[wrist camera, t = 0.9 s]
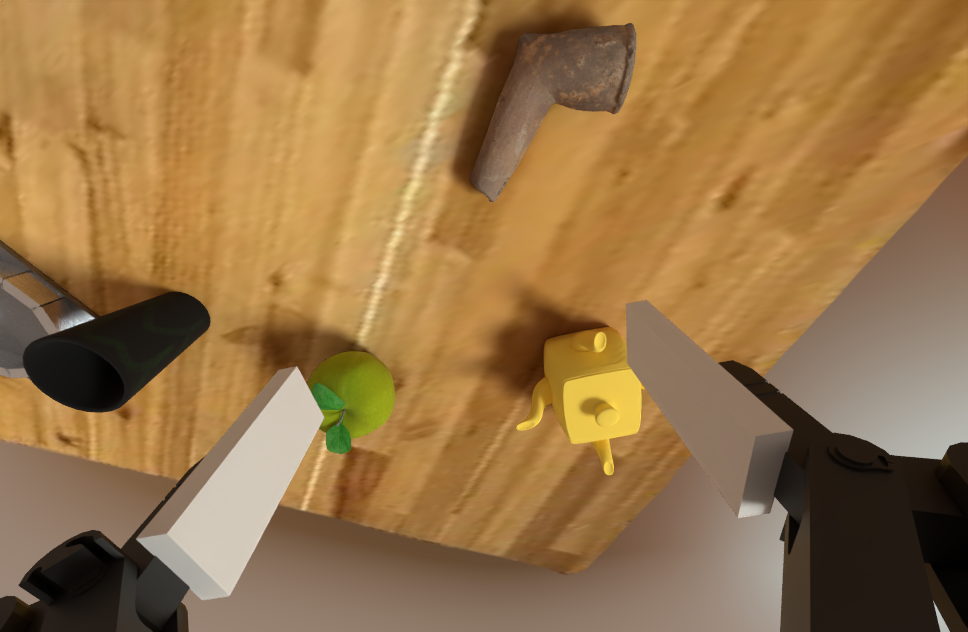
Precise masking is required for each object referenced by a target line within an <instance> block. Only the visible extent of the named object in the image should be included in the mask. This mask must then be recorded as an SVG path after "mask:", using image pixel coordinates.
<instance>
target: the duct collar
mask: <svg viewBox="0 0 968 632" xmlns="http://www.w3.org/2000/svg"><path fill="white" fill-rule="evenodd" d="M98 317H99V316H98V315H96V314H95V313H94V312H92V311H91V310H90V309H89V308H87V307H86V306H85V305H83V304H82V303H81V302H79V301H78V300H77V299H76V298H74V297H73V296H72V295H70V294H69V293H68V292H67V291H65V290H64V289H63V288H61V287H60V286H59V285H57V284H56V283H55V282H54V281H52V280H51V279H50V278H48V277H47V276H46V275H44V274H43V273H42V272H41V271H39V270H38V269H37V268H35V267H34V266H33V265H32V264H30V263H29V262H28V261H26V260H25V259H24V258H22V257H21V256H20V255H19V254H17V253H16V252H15V251H13V250H12V249H11V248H10V247H8V246H7V245H6V244H4V243H3V242H2V241H0V375H2V376H5V377H9V378H23V377H27V378H28V379H30V378H29V377H28V375H27V373H26V371H25V369H24V366H23V354H24V351H25V348H26V347H27V346H28V345H29V344H30V343H31V342H33V341H35V340H37V339H39V338H42V337H45V336H48V335H50V334H53V333H56V332H59V331H62V330H64V329H67V328H70V327H73V326H76V325H79V324H81V323H84V322H87V321H90V320H93V319H95V318H98ZM30 380H31V379H30Z"/></svg>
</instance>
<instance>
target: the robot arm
mask: <svg viewBox="0 0 968 632" xmlns="http://www.w3.org/2000/svg"><path fill="white" fill-rule="evenodd" d="M626 326H627V364H628V365H629V367H630V368H631V369H632V371H633V372H634V374H635V375H636V376H637V378H638V379H639V381H640V382H641V383H642V385H643V386H644V388H645V389H646V390H647V392H648V393H649V395H650V396H651V397H652V399H653V400H654V402H655V403H656V404H657V406H658V407H659V409H660V410H661V411H662V413H663V414H664V416H665V417H666V418H667V420H668V421H669V423H670V424H671V425H672V427H673V428H674V430H675V431H676V432H677V434H678V435H679V437H680V438H681V439H682V441H683V442H684V444H685V445H686V446H687V448H688V449H689V451H690V452H691V453H692V455H693V456H694V457H695V459H696V460H697V462H698V463H699V464H700V466H701V467H702V469H703V470H704V471H705V473H706V474H707V476H708V477H709V478H710V480H711V481H712V483H713V484H714V485H715V487H716V488H717V490H718V491H719V492H720V494H721V495H722V497H723V498H724V499H725V501H726V502H727V503H728V505H729V506H730V508H731V509H732V510H733V512H734V513H735V515H736V516H737V518H741V517H748V516H753V515H761V514H767V513H770V511H771V508H772V505H773V501H774V497H775V498H776V499H777V500H778V501H779V502H780V503H781V504H782V506H783V507H784V508H785V509H786V510H787V511H788V515H787V517H786V521H785V524H784V527H783V530H782V533H781V536H780V540H782V541H784V542H785V543H784V564H783V584H782V605H781V606H782V607H781V627H780V632H940V628H939V624H938V620H937V616H936V611H935V607H934V603H935V604H936V606H937V608H938V610H939V612H940V614H941V616H942V618H943V619H944V621H945V623H946V625H947V627H948V629H949V631H950V632H968V443H962V442H961V443H958V444H954V445H951V446H949V448H948V450H947V452H946V453H945V455H944V457H943V459H942V460H938V459H927V458H916V457H905V456H894V455H889V454H888V453H887V452H886V451H885V450H883V449H881V448H879V447H878V446H876V445H874V444H872V443H870V442H868V441H866V440H863V439H860V438H857V437H854V436H851V435H845V434H839V433H832V432H831V431H829V430H828V429H827V428H826V427H824V426H823V425H822V424H820V423H819V422H818V421H817V420H816V419H814V418H813V417H812V416H811V415H809V414H808V413H807V412H806V411H804V410H803V409H802V408H801V407H799V406H798V405H797V404H796V403H794V402H793V401H792V400H791V399H789V398H788V397H787V396H785V395H784V394H781V393H780V391H779V390H778V389H777V388H775V387H774V386H773V385H772V384H770V383H769V384H768V383H767V380H765V379H764V378H763V377H762V376H760V375H759V374H758V373H757V372H755V371H754V370H753V369H751V368H749V367H747V366H744V365H742V364H740V363H738V362H735V361H733V360H731V361H726V362H720V363H717V362H716V361H715V360H714V359H713V358H712V357H710V356H709V355H708V354H707V353H706V352H705V351H704V350H703V349H701V348H700V347H699V346H698V345H697V344H696V343H695V342H694V341H692V340H691V339H690V338H689V337H688V336H687V335H686V334H684V333H683V332H682V331H681V330H680V329H679V328H678V327H677V326H675V325H674V324H673V323H672V322H671V321H670V320H669V319H667V318H666V317H665V316H664V315H663V314H662V313H661V312H660V311H658V310H657V309H656V308H655V307H654V306H653V305H652V304H651V303H649V302H648V301H647V300H644V301H639V302H633V303H628V304H626ZM323 419H324V416H323V414H322V412H321V410H320V408H319V406H318V405H317V403H316V401H315V399H314V397H313V395H312V393H311V391H310V390H309V388H308V386H307V384H306V382H305V380H304V378H303V376H302V375H301V373H300V371H299V369H298V367H297V366H296V367H290V368H285V369H280V370H278V371H277V372H276V374H275V375H274V376H273V377H272V378H271V380H270V381H269V382H268V383H267V384H266V385H265V387H264V388H263V389H262V390H261V391H260V393H259V394H258V395H257V396H256V397H255V398H254V400H253V401H252V402H251V403H250V404H249V406H248V407H247V408H246V409H245V410H244V411H243V413H242V414H241V415H240V416H239V417H238V419H237V420H236V421H235V422H234V423H233V424H232V426H231V427H230V428H229V429H228V430H227V432H226V433H225V434H224V435H223V436H222V437H221V439H220V440H219V441H218V442H217V443H216V445H215V446H214V447H213V448H212V449H211V450H210V452H209V453H208V454H207V455H206V456H205V457H204V458H202V459H201V460H200V461H199V462H198V463H196V464H195V465H194V466H193V467H191V468H190V469H189V470H188V471H187V473H186V474H185V475H184V476H183V477H182V478H181V480H180V481H179V482H178V483H177V484H176V487H175V488H173V489H172V490H171V491H170V493H168V495H167V496H166V497H165V500H164V501H162V502H161V503H160V504H159V505H158V506H157V507H156V509H155V510H154V511H153V512H152V513H151V514H150V515H149V517H148V518H147V519H146V520H145V521H144V523H143V524H142V525H141V526H140V527H139V528H138V530H137V531H136V532H135V533H134V534H133V535H132V537H131V538H130V539H129V540H128V541H127V542H126V543H125V545H124V546H123V547H122V548H121V549H120V548H119V547H117V546H116V545H115V544H114V543H113V542H112V541H111V540H109V539H108V538H107V537H106V536H105V535H103V534H102V533H101V532H100V531H96V530H91V531H87V532H83V533H81V534H79V535H76V536H74V537H72V538H70V539H69V540H67V541H65V542H63V543H62V544H61V545H59V546H57V547H56V548H54V549H53V550H52V551H50V552H49V553H48V554H46V555H45V556H44V557H43V558H42V559H40V560H39V561H38V562H37V563H36V564H35V565H34V566H33V567H32V568H31V569H30V570H29V571H28V572H27V573H26V574H25V576H24V578H23V579H22V581H21V582H20V584H19V586H20V587H21V588H23V589H24V590H26V591H27V592H29V593H30V594H32V595H33V596H35V597H36V598H38V599H39V600H40V601H38V602H36V603H33V604H31V605H28V604H26V603H25V602H23V601H21V600H20V599H18V598H17V597H15V596H6V597H3V598H0V632H189V631H188V612H187V609H186V607H185V605H184V604H183V603H181V601H182V599H183V598H184V596H185V594H186V593H187V591H188V590H189V588H190V589H191V590H192V591H193V592H194V593H195V594H196V595H197V596H198V597H199V598H200V599H201V600H207V599H214V598H220V597H227V596H230V594H231V592H232V591H233V589H234V587H235V585H236V583H237V581H238V579H239V577H240V575H241V574H242V572H243V570H244V568H245V566H246V564H247V562H248V560H249V559H250V557H251V555H252V553H253V551H254V549H255V547H256V545H257V544H258V541H259V540H260V538H261V536H262V534H263V532H264V530H265V528H266V527H267V525H268V523H269V521H270V519H271V517H272V515H273V513H274V511H275V510H276V508H277V506H278V504H279V502H280V500H281V498H282V496H283V495H284V493H285V491H286V489H287V487H288V485H289V483H290V481H291V480H292V478H293V476H294V474H295V472H296V470H297V468H298V466H299V464H300V463H301V461H302V459H303V457H304V455H305V453H306V451H307V449H308V448H309V446H310V444H311V442H312V440H313V438H314V436H315V434H316V433H317V431H318V429H319V427H320V425H321V423H322V421H323ZM933 601H934V603H933Z"/></svg>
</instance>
